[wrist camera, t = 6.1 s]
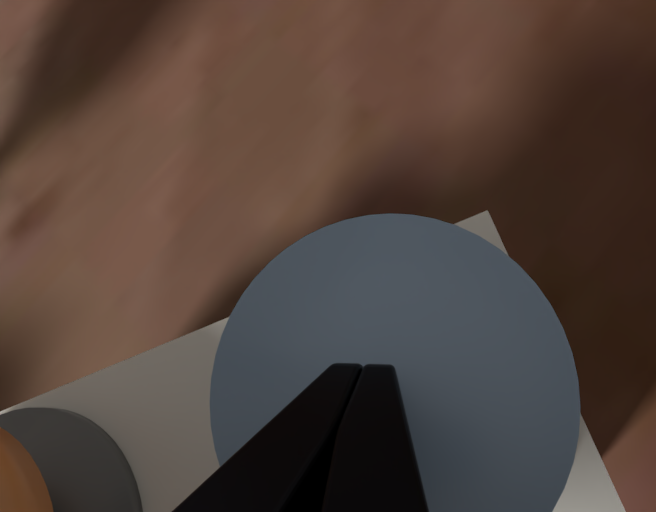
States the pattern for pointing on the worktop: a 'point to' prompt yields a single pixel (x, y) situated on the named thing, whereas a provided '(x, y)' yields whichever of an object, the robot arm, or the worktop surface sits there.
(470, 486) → the blue button
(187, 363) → the button console
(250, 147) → the worktop surface
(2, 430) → the orange button
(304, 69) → the worktop surface
